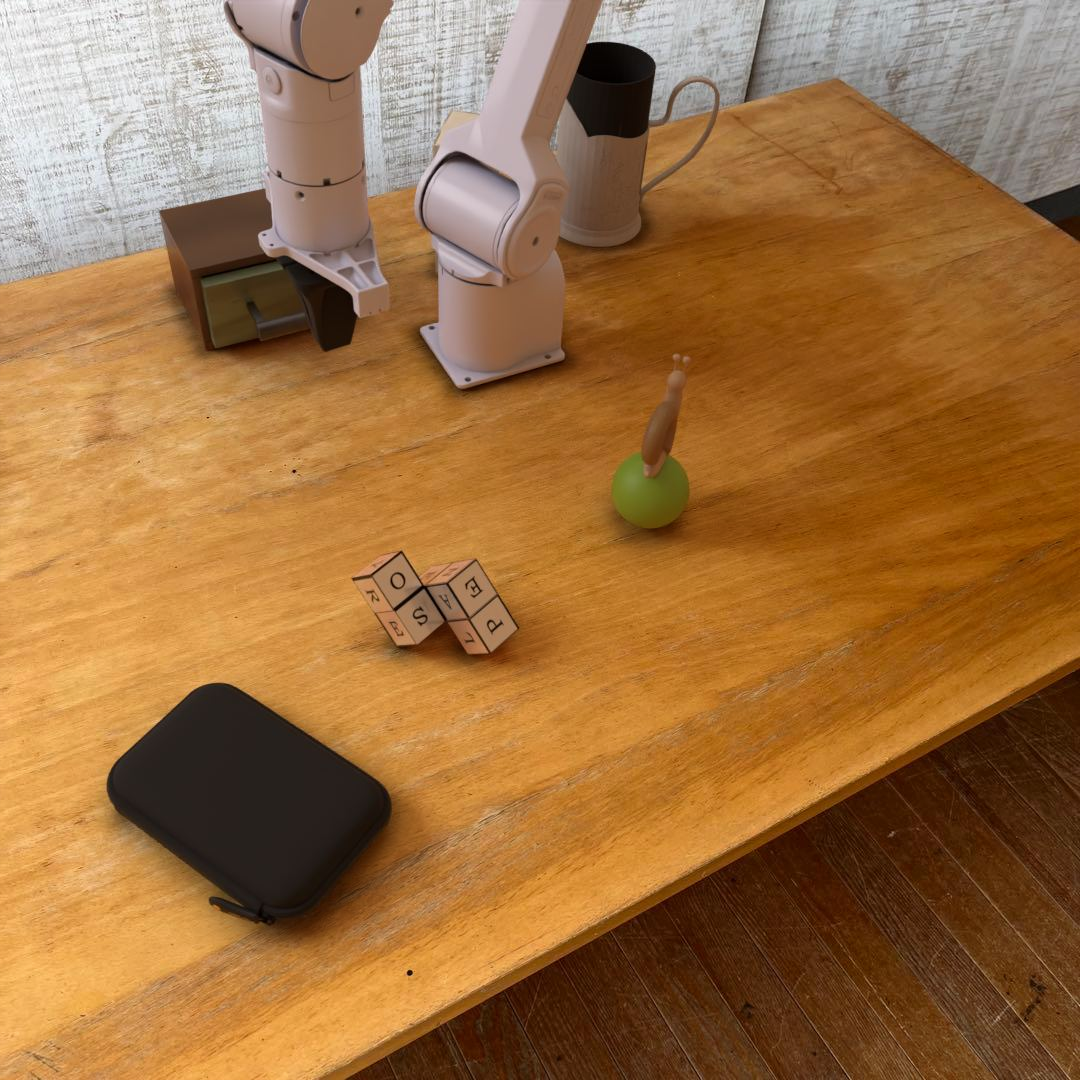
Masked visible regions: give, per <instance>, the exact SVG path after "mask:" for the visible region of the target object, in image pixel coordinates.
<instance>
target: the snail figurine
mask: <svg viewBox="0 0 1080 1080" xmlns="http://www.w3.org/2000/svg"><path fill="white" fill-rule="evenodd" d="M672 360H673V362H675V363H674V367H673V371H671V372H670V373H669V374H668V376H667V379H666V390H665V392H664V396H663V400H662V401H661V402H659V404H657V405H656V407H655V409H654V410H653V412H652V413H651V415H650V416H649V419H648V422H647V425H646V427H645V430H644V434H643V437H642V442H641V451H638V452H635V453H633V454H631V455H630V456H628V457H627V458H625V459H624V460H623V461H622V462H621V463H620V464H619V465H618V467H617V468H616V470H615V472H614V473H613V477H612V480H611V487H610V493H611V499H612V502H613V505H614V508H615V510H616V511H617V512H618V513H619V515H620V516H621V517H622V518H623V519H624V520H625V521H626V522H628V523H629V524H631V525H633V526H636V527H638V528H642V529H658V528H662V527H666V526H667V525H669V524H671V523H673V522H674V521H675V520H677V519H678V518H679V517H680V516H681V515H682V513H683V512H684V510H685V509H686V507H687V504H688V502H689V498H690V490H691V488H690V487H691V486H690V480H689V476H688V474H687V471H686V470H685V467H683V465H682V464H681V463H680V462H679V461H678V460H677V459H676V458H675V457H674V456H671V455H670V453H671V452H672V450H673V445H674V442H675V437H676V432H677V426H678V419H679V415H680V411H681V407H682V402H683V401H682V400H683V393H684V389H685V387H686V384H687V375H686V369H687V365H689V364H691V360H692V359H691V357H690V356H687V355H686V356H683V358H682V356H681V355H680V353H674V354H673V355H672ZM681 360H682V363H683V364H684V368H683V369H684V370H683V371H682V370H679V369H676V368H677V364H678V363H679V362H680V361H681Z"/></svg>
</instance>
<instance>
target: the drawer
mask: <svg viewBox="0 0 1080 1080" xmlns="http://www.w3.org/2000/svg"><path fill="white" fill-rule="evenodd" d="M200 282H201V288H202V293H203V298H204V303H205V309H206V314H207V319H208V324H209V330H210V335H211V340H212V342H213V344H214V346H215V348H214V349H219V348H223V347H227V346H230V345H235V344H238V343H239V344H240V343H243V342H247V341H250V340H255V339H258V340H259V341H260V342H262V341H263V342H264V341H267V340H271V339H275V338H279V337H282V336H287V335H290V334H294V333H299V332H302V331H307V330H311V329H310V327H309V324H308V321H307V318H306V316H305V313H304V310H303V307H302V305H301V302H300V299H299V297H298V294H297V292H296V290H295V288H294V286H293V284H292V282H291V280H290V278H289V276H288V275H287V273H286V272H285V270H284V269H283V268H282V266H281V265H280V264H279V262H278V261H277V259H275V260H271V261H267V262H263V263H258V264H254V265H250V266H245V267H241V268H237V269H232V270H228V271H224V272H220V273H215V274H211V275H207V276H202V279H200Z"/></svg>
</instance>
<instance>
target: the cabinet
mask: <svg viewBox="0 0 1080 1080" xmlns="http://www.w3.org/2000/svg"><path fill="white" fill-rule="evenodd" d="M158 214H159V218H160V224H161V227H162V232H163V233H162V234H163V237H164V241H165V247H166V251H167V257H168V261H169V266H170V269H171V270H170V271H171V275H172V279H173V280H172V281H173V284H174V289H175V290H174V291H175V292H176V294H177V296H178V298H179V300H180V302H181V304H182V306H183V307H184V310H185V312H186V314H187V316H188V317H189V320H190V322H191V324H192V326H193V328H194V330H195V333H196V334H197V336H198V338H199V340H200V342H201V344H202V346H203V348H204V350H206V351H208V350H212V349H216V348H215V346H214V344H213V342H212V340H211V335H210V330H209V324H208V319H207V314H206V309H205V303H204V298H203V293H202V288H201V282H200V279H202V276H207V275H211V274H215V273H220V272H224V271H228V270H232V269H237V268H241V267H245V266H250V265H254V264H258V263H263V262H267V261H271V260H275V259H276V258H275V257H269V256H268V255H267V254H266V253H265V252H264V250H263V249H262V248H261V246H260V244H259V238H258V235H259V233H260V232H263V231H266V230H269V229H271V228H272V226H273V223H272V209H271V203H270V202H269V201H268V199H267V198H266V190H265V187H263V188H259V189H254V190H250V191H246V192H241V193H236V194H231V195H227V196H221V197H217V198H216V197H215V198H213V199H208V200H202V201H197V202H194V203H188V204H183V205H179V206H174V207H169V208H165V209H160V210H158Z"/></svg>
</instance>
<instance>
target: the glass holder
mask: <svg viewBox="0 0 1080 1080" xmlns="http://www.w3.org/2000/svg"><path fill="white" fill-rule="evenodd" d="M654 59H655V58H653V57H652V56H651V55H650V54H649V53H648V52H647V51H644V50H642V49H641V48H638V47H636V46H634V45H630V44H628V43H622V42H615V41H594V42H587V44H586V47H585V50H584V52H583V55H582V58H581V60H580V63H579V66H578V68H577V71H576V74H575V76H574V79H573V82H572V84H571V87H570V90H569V92H568V95H567V98H566V100H565V103H564V106H563V108H562V111H561V114H560V116H559V119H558V131H557V132H558V133H557V146H556V156H555V158H556V160H557V161H558V163H559V165H560V167H561V169H562V171H563V173H564V175H565V177H566V179H567V181H568V184H569V190H568V192H567V195H566V198H565V201H564V205H563V209H562V213H561V221H560V233H559V237H560V238H562V239H564V240H566V241H568V242H571V243H573V244H576V245H580V246H584V247H591V248H608V247H614V246H615V247H616V246H619V245H621V244H625V243H627V242H630V241H631V240H633V239H634V238H635V237H636V236H637V235H638V234H639V232H640V230H641V229H642V217H641V214H640V211H639V207H640V205H642V204H643V201H644V196H646V194H647V193H648V192H650V191H651V190H652V189H654V187H656V186H657V185H660V183H662V182H663V181H665V180H666V179H668V178H669V177H671V176H672V175H673V174H675V173H676V172H677V171H679V170H680V169H681V168H683V167H684V166H686V165H687V164H688V163H689V162H690V161H692V160H693V159H694V158H695V157H696V156H697V154H698V153H699V152H700V151H701V150H702V148H703V147H704V145H705V143H706V142H707V141H708V140H709V137H710V135H711V134H712V131H713V128H714V126H715V124H716V122H717V119H718V118H717V117H718V113H719V109H720V102H721V101H720V98H721V95H720V92H719V89H718V86H717V84H715V82H714V81H713V80H712V79H710V78H708V77H705V76H703V75H692V76H687V77H685V78H684V79H682V80H680V81H679V82H678V83H677V84H676V85H675V86H674V88H673V89H672V91H671V93H670V95H669V98H668V101H667V106H666V110H665V114H664V116H662V117H661V118H658V119H650V113H651V107H652V99H653V93H654V91H653V90H654V83H655V77H656V70H657V64H656V61H655V60H654ZM694 83H703V84H705V85H708V86H709V87H711V88H712V89H713V93H714V104H713V109H712V113H711V116H710V119H709V122H708V123H707V126H706V128H705V131H704V132H703V133H702V135H701V137H700V138H699V140H697V142H696V144H695V145H694V146H693V148H692V149H691V150H690V151H689V152H688V153H687V154H686V155H685V156H684V157H682V158H681V159H680V160H678V161H677V162H676V163H674V164H673V165H672V166H671V167H669V168H668V169H666V170H665V171H663V172H662V173H660V174H658V175H657V176H656V177H655V178H653V179H652V180H651V181H649V182H648V183H646V184H645V185H644V186H643V187H642V185H643V179H644V173H645V165H646V158H647V149H648V142H649V136H650V128H655V127H656V128H657V127H662V126H664V125H665V124H667V123H668V122H669V120H670V118H671V116H672V111H673V107H674V103H675V100H676V98H677V96H678V95H679V93H680V92H682V90H683V89H684V88H685V87H687V86H688V85H690V84H694Z"/></svg>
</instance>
